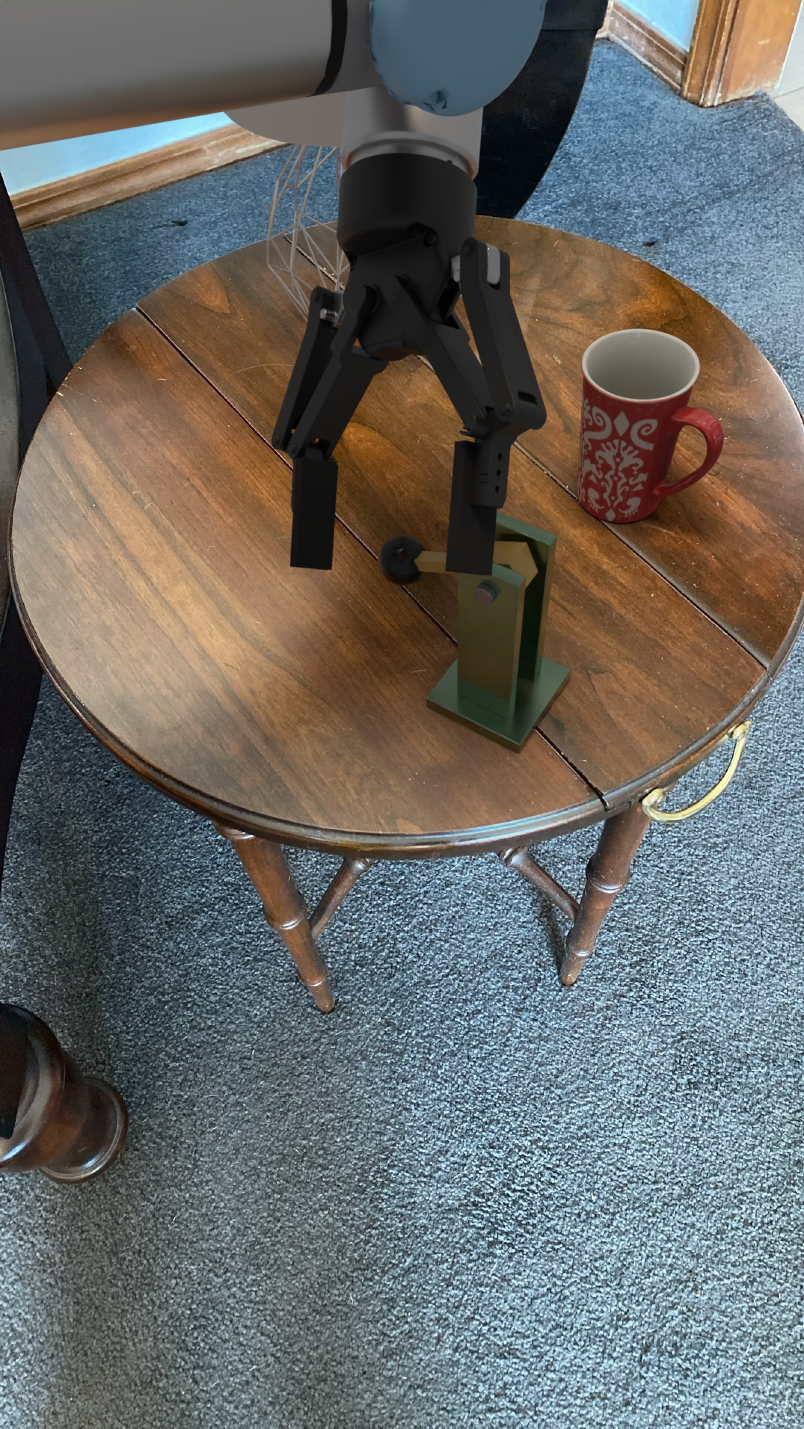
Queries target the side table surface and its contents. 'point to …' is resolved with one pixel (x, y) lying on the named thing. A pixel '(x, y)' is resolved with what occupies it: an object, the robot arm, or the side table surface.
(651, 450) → the mug
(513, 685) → the switch bracket
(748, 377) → the side table surface
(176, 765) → the side table surface
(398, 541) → the switch lever
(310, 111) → the table lamp
